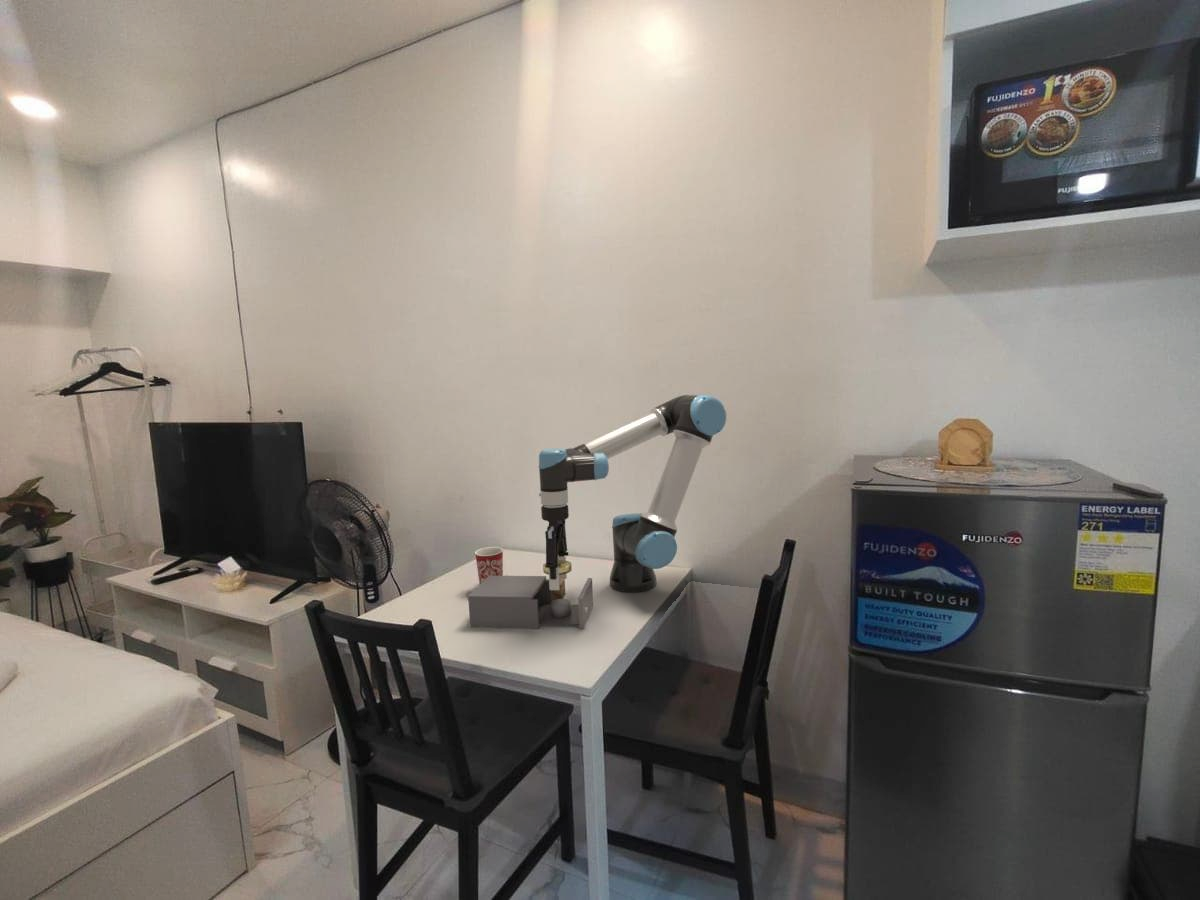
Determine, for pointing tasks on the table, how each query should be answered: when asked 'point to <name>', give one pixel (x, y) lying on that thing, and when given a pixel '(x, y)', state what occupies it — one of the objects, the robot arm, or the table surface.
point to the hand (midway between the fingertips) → (558, 583)
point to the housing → (509, 602)
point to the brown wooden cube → (559, 591)
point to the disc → (560, 567)
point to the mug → (489, 562)
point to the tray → (558, 621)
